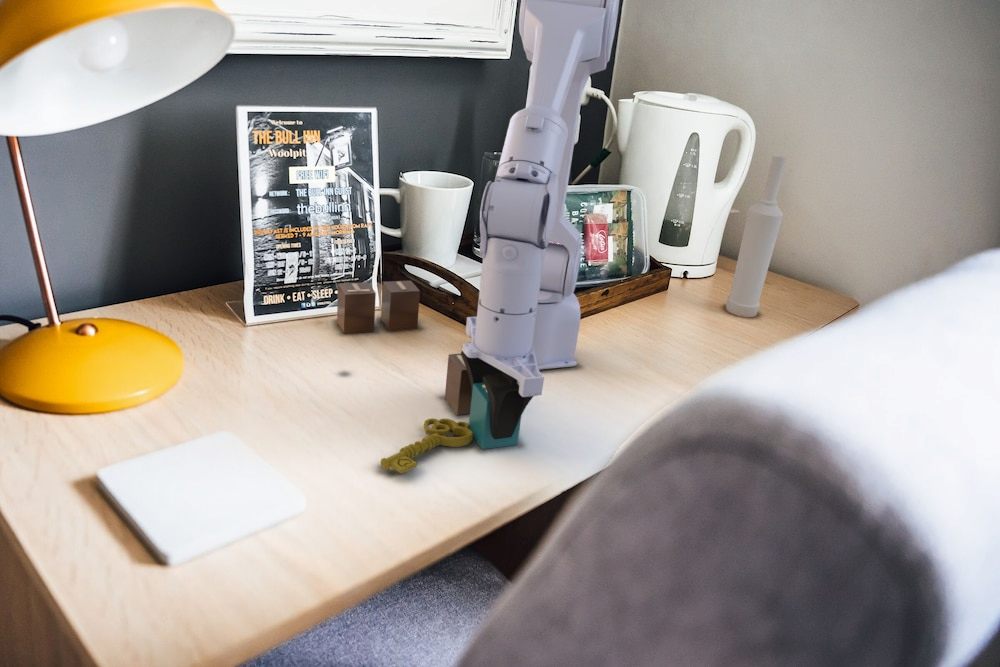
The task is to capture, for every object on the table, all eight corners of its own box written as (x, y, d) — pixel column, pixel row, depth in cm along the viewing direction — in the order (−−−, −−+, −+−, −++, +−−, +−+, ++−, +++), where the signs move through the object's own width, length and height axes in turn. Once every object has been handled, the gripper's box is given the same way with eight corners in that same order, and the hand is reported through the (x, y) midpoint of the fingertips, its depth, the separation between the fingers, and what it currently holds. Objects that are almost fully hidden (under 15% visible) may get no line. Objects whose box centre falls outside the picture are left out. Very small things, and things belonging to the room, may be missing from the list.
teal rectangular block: (502, 425, 83) (508, 378, 80) (517, 444, 79) (524, 397, 77) (468, 429, 81) (473, 382, 79) (481, 449, 78) (487, 400, 76)
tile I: (408, 317, 107) (411, 279, 105) (417, 328, 104) (420, 289, 101) (380, 319, 105) (382, 280, 103) (388, 330, 102) (390, 291, 100)
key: (400, 469, 71) (363, 446, 73) (399, 480, 71) (363, 458, 74) (483, 427, 79) (448, 409, 82) (482, 438, 80) (447, 419, 83)
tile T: (366, 320, 105) (367, 281, 102) (374, 331, 101) (375, 292, 99) (336, 321, 103) (337, 282, 101) (343, 334, 100) (345, 293, 97)
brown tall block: (477, 394, 88) (481, 350, 86) (490, 411, 85) (496, 366, 83) (444, 398, 87) (448, 353, 85) (457, 415, 84) (461, 369, 81)
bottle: (722, 303, 127) (759, 150, 117) (754, 308, 126) (793, 155, 116) (726, 314, 122) (765, 156, 112) (759, 319, 121) (801, 161, 112)
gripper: (443, 279, 79) (433, 396, 84) (500, 337, 67) (484, 469, 72) (506, 276, 81) (492, 389, 87) (571, 331, 70) (550, 458, 75)
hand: (493, 425), depth 80 cm, fingers closed on teal rectangular block, 4 cm apart
